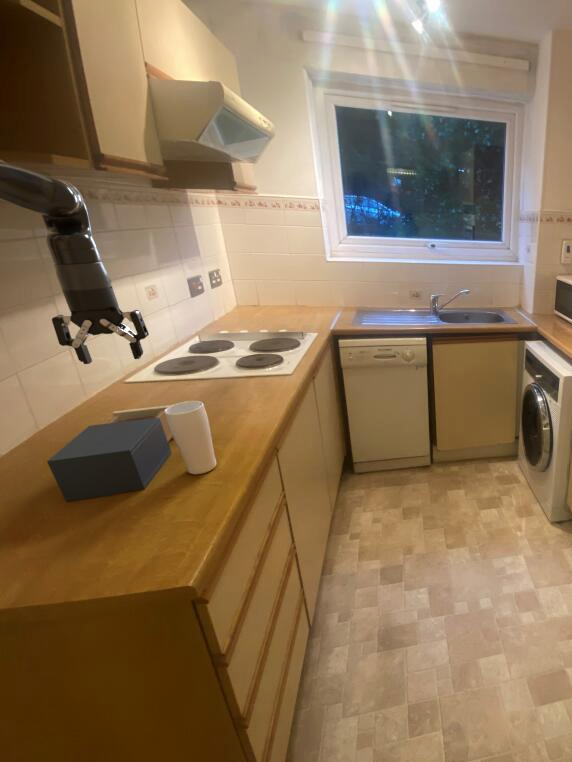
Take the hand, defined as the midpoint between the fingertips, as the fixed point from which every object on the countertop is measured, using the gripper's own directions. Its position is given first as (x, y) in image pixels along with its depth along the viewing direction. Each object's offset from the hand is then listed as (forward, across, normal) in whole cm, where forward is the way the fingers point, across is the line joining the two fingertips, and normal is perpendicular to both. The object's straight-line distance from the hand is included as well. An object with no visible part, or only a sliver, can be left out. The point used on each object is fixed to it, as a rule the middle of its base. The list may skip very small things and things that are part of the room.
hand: (113, 360), depth 94 cm
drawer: (+21, 0, 0) cm, 21 cm away
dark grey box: (+22, -1, -11) cm, 25 cm away
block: (+20, 0, 0) cm, 20 cm away
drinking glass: (+22, +14, -15) cm, 30 cm away
